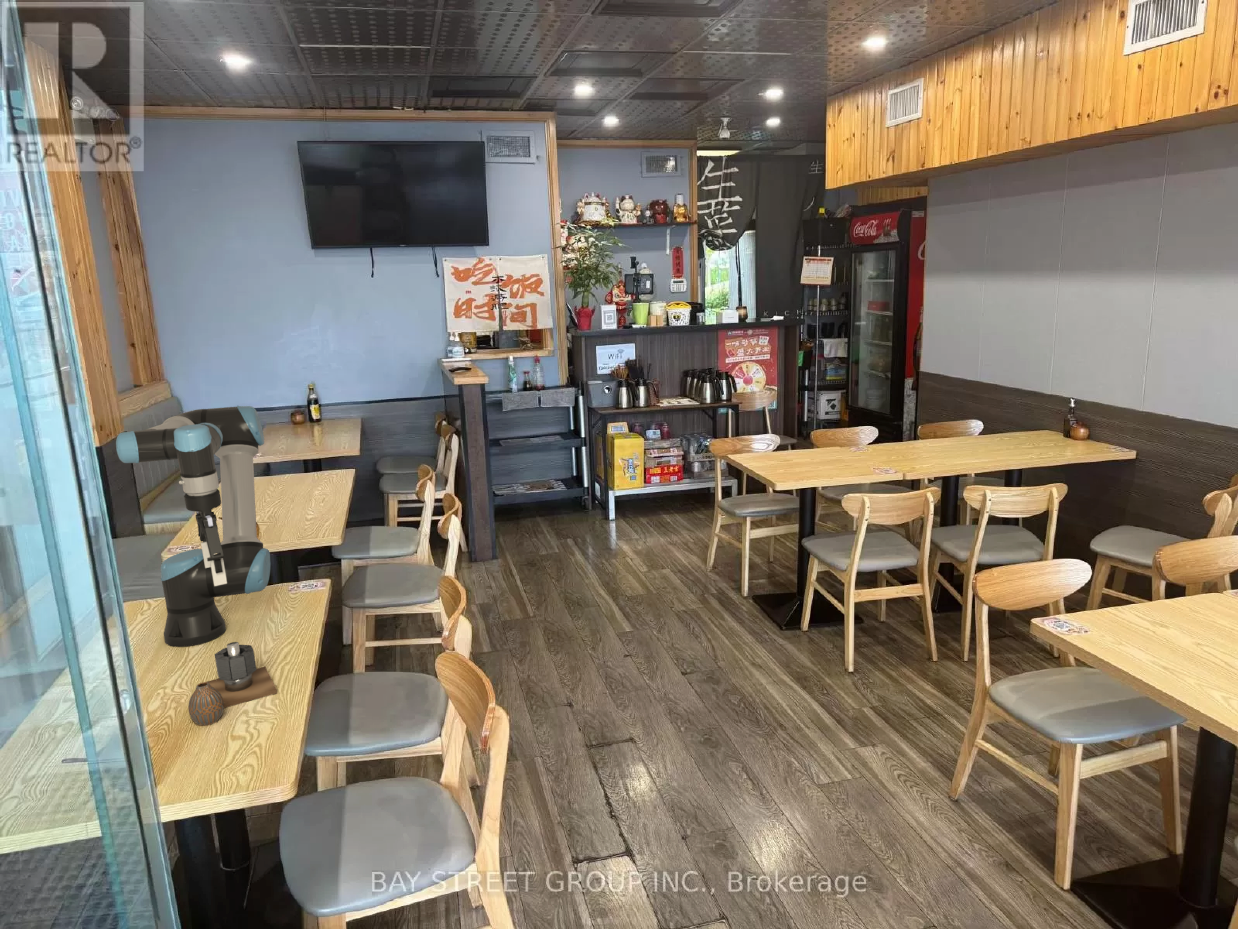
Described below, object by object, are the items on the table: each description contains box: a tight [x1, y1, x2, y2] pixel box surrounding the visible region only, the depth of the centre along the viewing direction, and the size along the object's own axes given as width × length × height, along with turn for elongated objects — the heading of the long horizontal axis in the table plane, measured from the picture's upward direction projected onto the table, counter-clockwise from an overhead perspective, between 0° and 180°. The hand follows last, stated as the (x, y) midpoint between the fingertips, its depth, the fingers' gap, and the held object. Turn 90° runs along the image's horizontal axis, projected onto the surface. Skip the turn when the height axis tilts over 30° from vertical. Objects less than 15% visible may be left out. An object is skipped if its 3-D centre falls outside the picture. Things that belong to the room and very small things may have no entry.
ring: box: [214, 644, 257, 681], centre depth 195 cm, size 8×8×5 cm
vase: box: [188, 681, 225, 726], centre depth 182 cm, size 7×7×9 cm
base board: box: [206, 666, 278, 709], centre depth 196 cm, size 14×14×1 cm
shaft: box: [224, 641, 253, 692], centre depth 195 cm, size 6×6×10 cm
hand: (215, 575), depth 201 cm, fingers open, 13 cm apart
